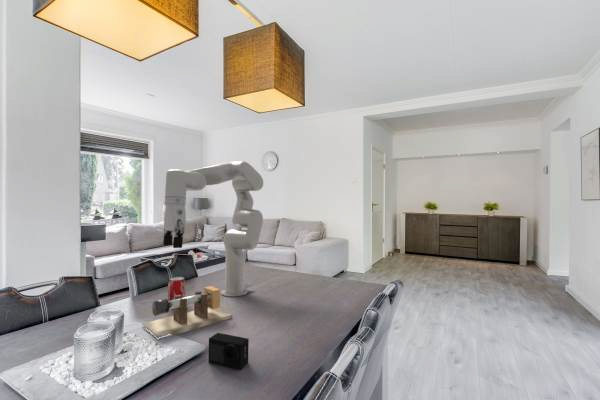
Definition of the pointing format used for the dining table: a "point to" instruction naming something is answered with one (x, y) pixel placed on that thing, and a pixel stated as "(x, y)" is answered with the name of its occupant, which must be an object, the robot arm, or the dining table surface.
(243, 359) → the digital camera
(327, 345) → the dining table surface
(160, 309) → the shaft
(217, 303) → the block
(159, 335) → the rig
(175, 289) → the soda can
